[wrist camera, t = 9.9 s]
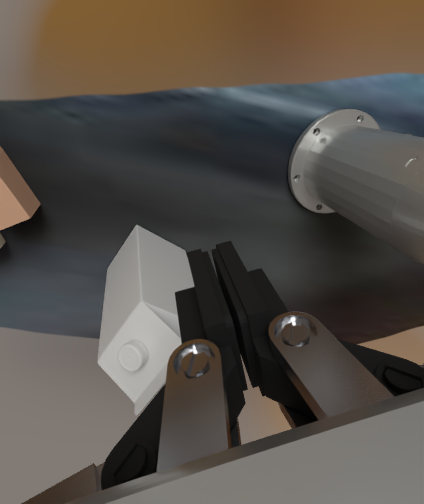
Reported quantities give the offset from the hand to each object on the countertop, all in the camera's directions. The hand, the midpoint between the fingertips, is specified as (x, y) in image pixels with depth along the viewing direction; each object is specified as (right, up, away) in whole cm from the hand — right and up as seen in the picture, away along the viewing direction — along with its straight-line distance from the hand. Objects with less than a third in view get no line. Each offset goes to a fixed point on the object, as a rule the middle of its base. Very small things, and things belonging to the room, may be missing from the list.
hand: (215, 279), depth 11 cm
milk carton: (-8, 0, +27) cm, 29 cm away
